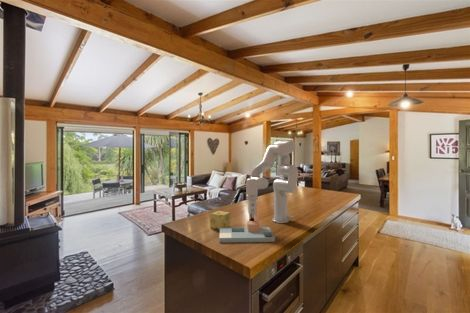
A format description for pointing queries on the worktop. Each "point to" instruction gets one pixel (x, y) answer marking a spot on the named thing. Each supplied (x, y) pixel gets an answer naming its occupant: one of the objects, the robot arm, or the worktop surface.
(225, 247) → the worktop surface
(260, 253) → the worktop surface
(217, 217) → the cheese
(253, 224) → the block
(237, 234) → the trap deck
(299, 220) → the worktop surface
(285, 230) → the worktop surface
